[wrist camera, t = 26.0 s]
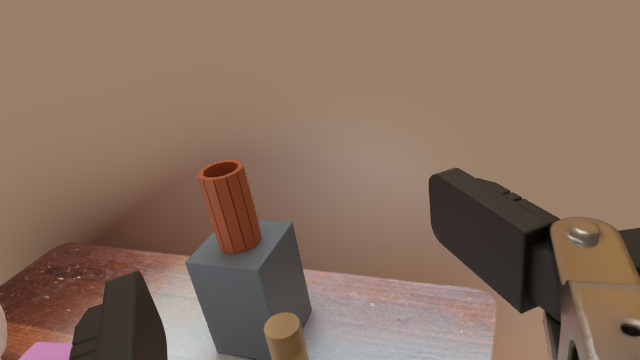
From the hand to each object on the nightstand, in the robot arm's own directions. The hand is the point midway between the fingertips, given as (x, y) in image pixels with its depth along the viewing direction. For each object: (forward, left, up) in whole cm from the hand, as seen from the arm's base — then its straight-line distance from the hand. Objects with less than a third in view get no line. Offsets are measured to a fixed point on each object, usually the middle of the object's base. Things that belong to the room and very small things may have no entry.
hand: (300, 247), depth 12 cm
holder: (+19, -22, -29) cm, 41 cm away
